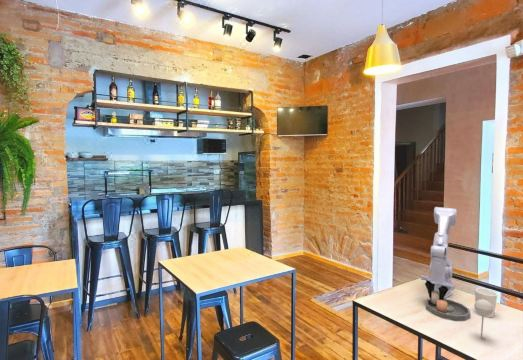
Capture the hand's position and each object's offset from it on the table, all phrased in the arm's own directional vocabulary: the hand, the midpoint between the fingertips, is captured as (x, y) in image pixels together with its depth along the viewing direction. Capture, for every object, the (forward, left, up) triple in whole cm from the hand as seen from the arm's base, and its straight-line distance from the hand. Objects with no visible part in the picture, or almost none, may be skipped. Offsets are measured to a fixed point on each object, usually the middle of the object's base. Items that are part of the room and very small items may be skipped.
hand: (436, 299), depth 146 cm
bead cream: (0, 0, -2) cm, 2 cm away
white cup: (-12, +15, -3) cm, 20 cm away
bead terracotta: (+5, +5, -3) cm, 8 cm away
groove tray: (0, +5, -3) cm, 6 cm away
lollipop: (+11, +23, -3) cm, 26 cm away
